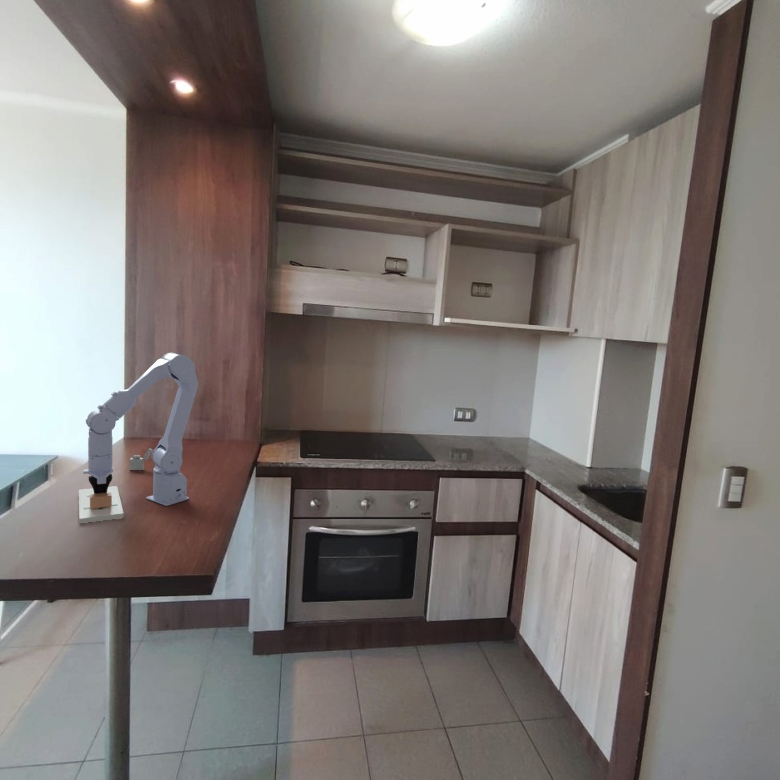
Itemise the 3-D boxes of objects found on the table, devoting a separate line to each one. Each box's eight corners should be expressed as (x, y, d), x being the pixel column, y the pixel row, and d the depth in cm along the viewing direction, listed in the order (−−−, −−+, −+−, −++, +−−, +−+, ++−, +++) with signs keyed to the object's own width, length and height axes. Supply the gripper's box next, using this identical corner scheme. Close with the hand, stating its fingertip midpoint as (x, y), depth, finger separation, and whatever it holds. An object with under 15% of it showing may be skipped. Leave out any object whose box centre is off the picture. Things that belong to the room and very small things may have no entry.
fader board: (78, 494, 145) (78, 489, 145) (116, 490, 150) (117, 485, 150) (79, 524, 125) (79, 518, 125) (123, 518, 130) (123, 512, 130)
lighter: (129, 470, 170) (129, 448, 169) (130, 469, 171) (131, 447, 170) (151, 471, 172) (151, 449, 171) (152, 469, 173) (153, 447, 172)
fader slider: (89, 504, 133) (89, 494, 133) (110, 502, 136) (110, 492, 135) (90, 508, 130) (90, 497, 130) (111, 506, 133) (111, 495, 133)
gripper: (82, 448, 137) (83, 494, 139) (83, 462, 125) (83, 512, 127) (111, 446, 141) (111, 491, 143) (115, 459, 129) (114, 508, 131)
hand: (100, 501), depth 135 cm, fingers closed
